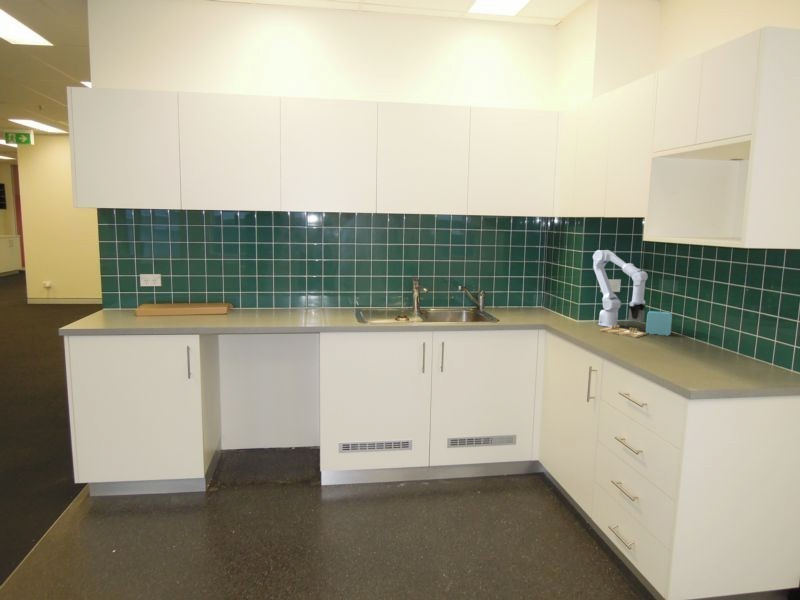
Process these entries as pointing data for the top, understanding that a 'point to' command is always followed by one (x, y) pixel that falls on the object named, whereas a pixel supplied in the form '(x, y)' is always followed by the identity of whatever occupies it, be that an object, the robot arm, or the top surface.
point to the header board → (623, 331)
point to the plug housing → (639, 317)
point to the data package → (659, 323)
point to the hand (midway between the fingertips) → (636, 317)
